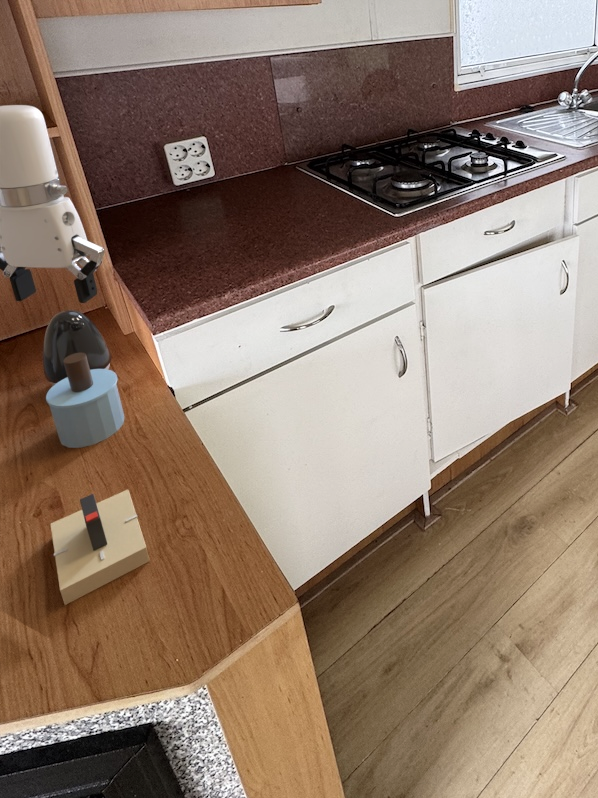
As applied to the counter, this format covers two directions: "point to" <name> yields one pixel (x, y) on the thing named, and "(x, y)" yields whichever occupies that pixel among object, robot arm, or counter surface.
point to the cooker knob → (93, 522)
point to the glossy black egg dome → (72, 344)
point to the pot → (89, 421)
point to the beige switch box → (105, 564)
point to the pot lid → (80, 383)
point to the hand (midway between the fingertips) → (57, 297)
